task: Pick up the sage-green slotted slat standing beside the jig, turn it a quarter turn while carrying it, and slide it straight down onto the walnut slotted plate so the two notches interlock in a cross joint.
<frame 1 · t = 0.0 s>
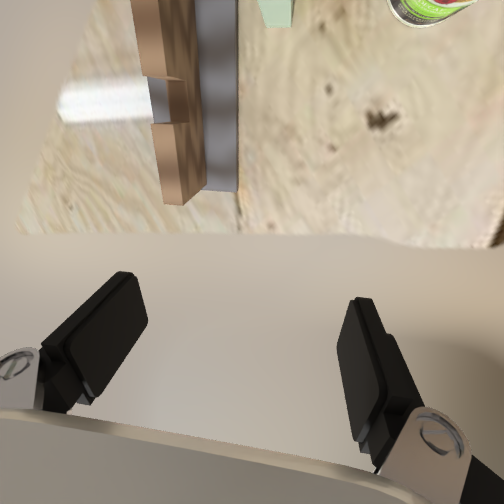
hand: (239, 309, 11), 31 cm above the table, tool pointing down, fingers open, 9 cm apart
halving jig: (196, 102, 35), on the table
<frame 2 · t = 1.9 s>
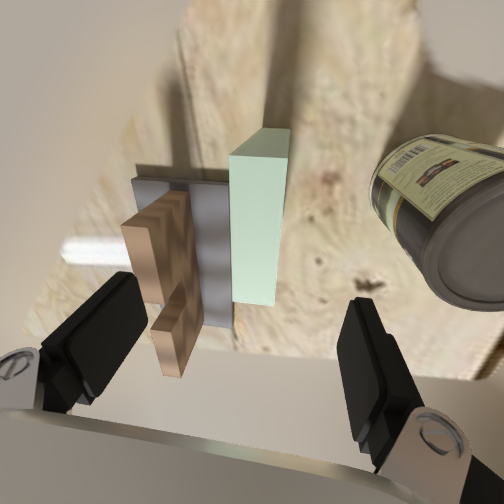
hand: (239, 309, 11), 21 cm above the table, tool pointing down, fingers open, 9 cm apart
coffee can: (418, 184, 27), on the table
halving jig: (193, 260, 36), on the table
green slat: (273, 176, 28), on the table
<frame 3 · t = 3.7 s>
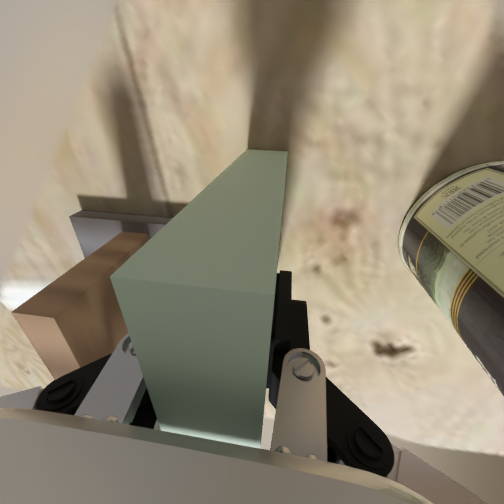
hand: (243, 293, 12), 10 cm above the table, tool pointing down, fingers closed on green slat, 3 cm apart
coffee can: (470, 228, 19), on the table
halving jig: (163, 312, 28), on the table
green slat: (264, 214, 21), on the table, touching gripper
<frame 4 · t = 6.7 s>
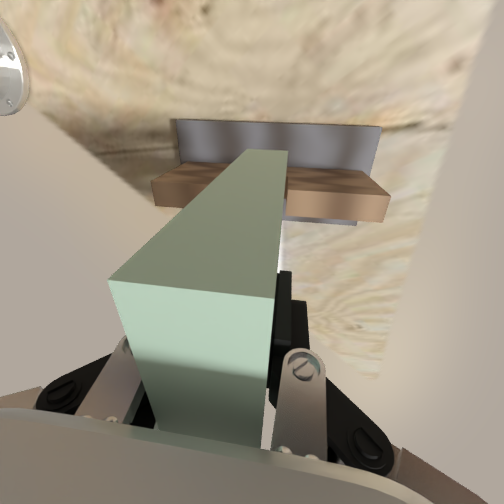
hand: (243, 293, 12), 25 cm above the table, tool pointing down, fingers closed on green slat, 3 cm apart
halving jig: (271, 173, 33), on the table
green slat: (264, 214, 20), point 15 cm above the table, touching gripper
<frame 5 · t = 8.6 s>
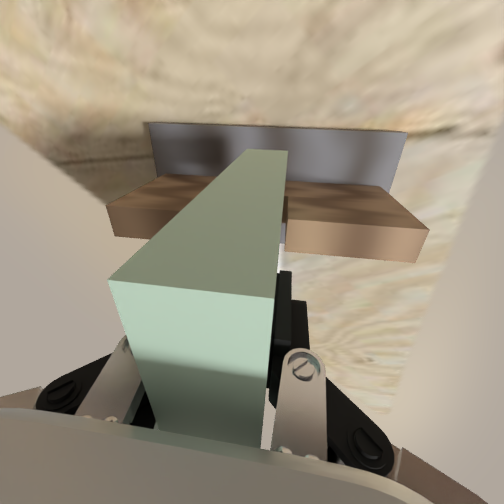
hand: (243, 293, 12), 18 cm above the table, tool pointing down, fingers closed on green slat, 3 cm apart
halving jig: (268, 187, 27), on the table
green slat: (264, 214, 20), point 8 cm above the table, touching gripper
when the fingers open (13 cm above the table, at t = 9.9 s): green slat drops 2 cm, resting on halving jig.
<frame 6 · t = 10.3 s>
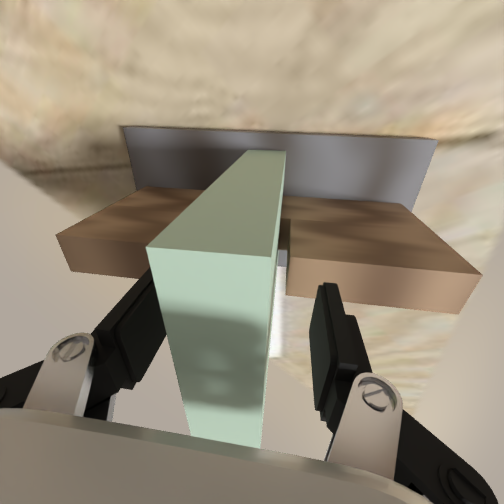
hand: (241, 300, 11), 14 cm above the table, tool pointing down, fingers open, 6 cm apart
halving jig: (267, 202, 23), on the table
green slat: (264, 210, 22), point 1 cm above the table, touching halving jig
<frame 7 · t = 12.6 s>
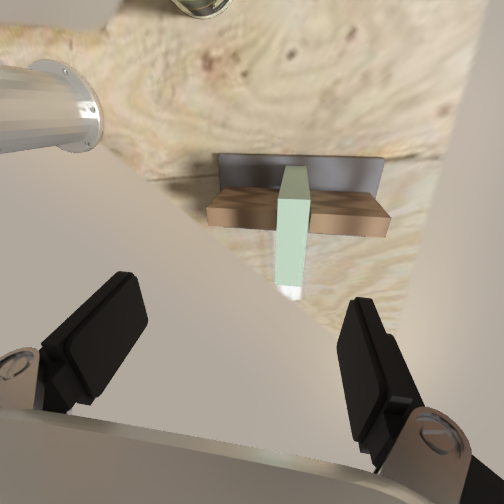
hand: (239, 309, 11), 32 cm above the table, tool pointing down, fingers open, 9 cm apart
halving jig: (294, 194, 40), on the table
green slat: (293, 198, 39), point 1 cm above the table, touching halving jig
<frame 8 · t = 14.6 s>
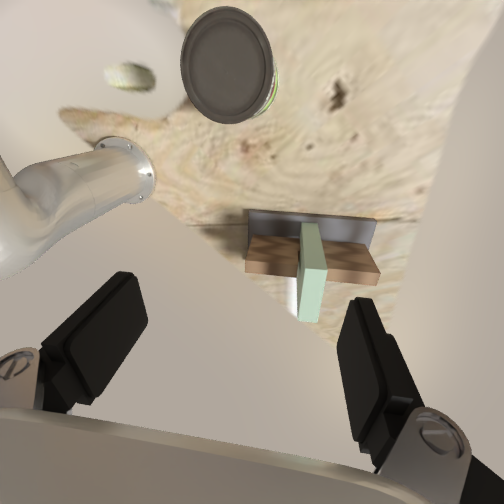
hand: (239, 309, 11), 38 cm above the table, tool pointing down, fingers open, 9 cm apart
coffee can: (246, 82, 39), on the table
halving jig: (306, 241, 51), on the table
green slat: (306, 245, 50), point 1 cm above the table, touching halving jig
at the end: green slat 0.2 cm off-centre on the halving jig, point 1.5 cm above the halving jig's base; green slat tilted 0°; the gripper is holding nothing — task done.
